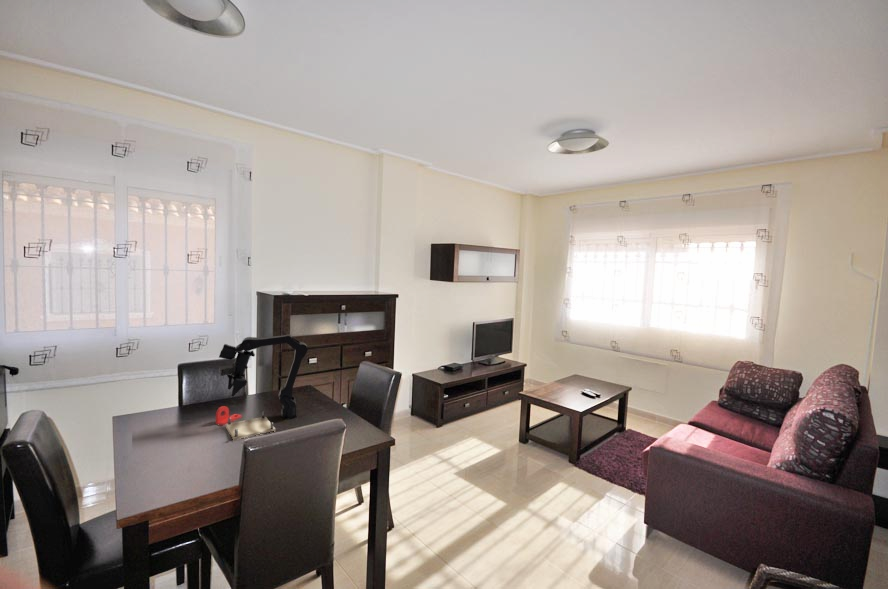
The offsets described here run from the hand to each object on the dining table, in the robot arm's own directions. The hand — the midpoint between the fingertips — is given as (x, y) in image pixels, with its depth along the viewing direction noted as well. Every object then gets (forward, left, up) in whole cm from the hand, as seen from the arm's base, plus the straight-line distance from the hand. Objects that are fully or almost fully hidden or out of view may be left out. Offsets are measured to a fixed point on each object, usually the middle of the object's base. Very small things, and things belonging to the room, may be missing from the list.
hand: (230, 392), depth 195 cm
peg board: (-6, +14, -15) cm, 21 cm away
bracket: (0, -2, -15) cm, 16 cm away
